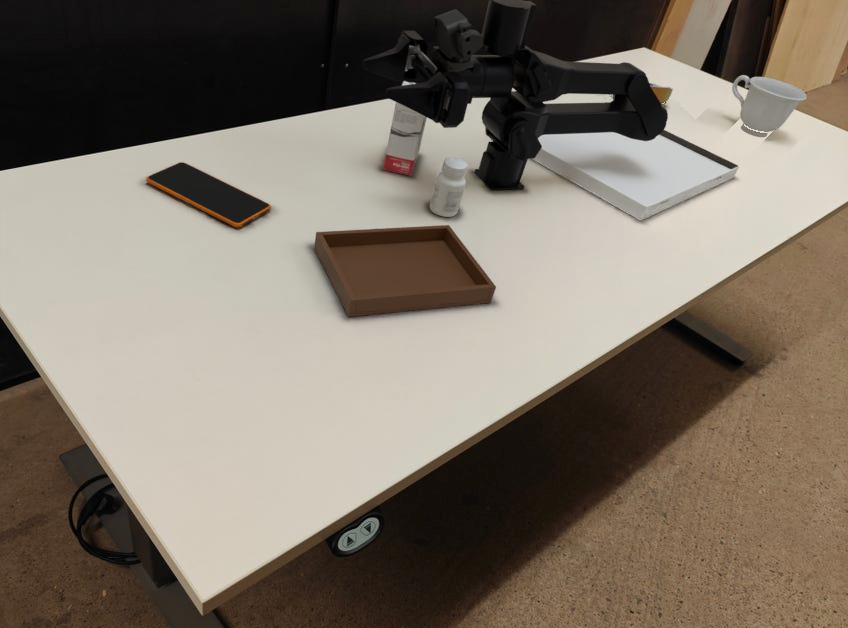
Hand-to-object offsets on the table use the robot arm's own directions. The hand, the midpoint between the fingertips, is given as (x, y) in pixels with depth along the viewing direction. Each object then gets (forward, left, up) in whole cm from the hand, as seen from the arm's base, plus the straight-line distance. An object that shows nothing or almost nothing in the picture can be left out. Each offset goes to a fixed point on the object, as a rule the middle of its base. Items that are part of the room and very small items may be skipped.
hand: (374, 78), depth 91 cm
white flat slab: (-55, -7, -17) cm, 58 cm away
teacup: (-101, -20, -17) cm, 105 cm away
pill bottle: (-11, +8, -17) cm, 22 cm away
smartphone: (+23, +2, -17) cm, 28 cm away
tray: (+2, +23, -16) cm, 28 cm away
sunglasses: (-81, -37, -17) cm, 91 cm away
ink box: (-10, -7, -17) cm, 21 cm away
